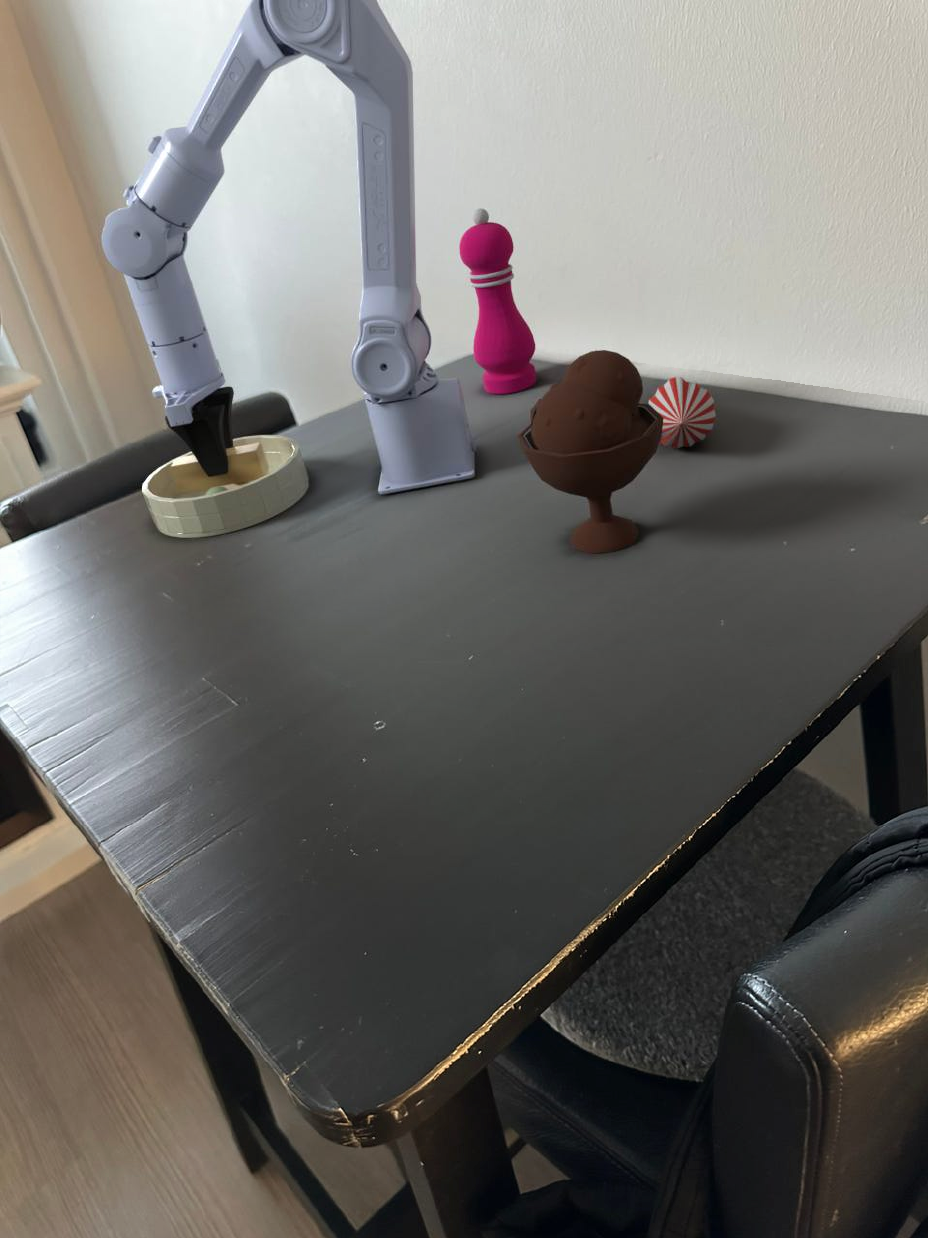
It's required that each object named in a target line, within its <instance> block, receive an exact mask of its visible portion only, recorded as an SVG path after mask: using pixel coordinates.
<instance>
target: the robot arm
mask: <svg viewBox="0 0 928 1238" xmlns="http://www.w3.org/2000/svg"><path fill="white" fill-rule="evenodd" d="M304 56H307V57H309V58H311V59H313V60H316V61H317V62H319V63H321V64H323V65H324V66H325V67H326V68H327V69H328V70H329V71H330V72H331V73H332V74H333V75H334V76H335V77H336V78H337V79H338V80H339V81H340V82H341V83H342V84H344V86H345V87H346V88H347V89H349V90H350V91H351V93H352V94H353V97H354V110H355V111H354V114H355V116H354V117H355V137H356V138H355V140H356V160H357V162H356V164H357V182H358V183H357V184H358V185H357V186H358V207H359V208H358V209H359V229H360V231H359V232H360V252H361V255H360V256H361V276H362V277H361V279H362V280H361V281H362V293H361V299H360V300H361V301H360V309H359V317H358V328H359V329H358V337H357V341H356V343H355V345H354V347H353V349H352V352H351V355H350V361H349V362H350V369H351V370H350V371H351V374H352V375H351V376H352V377H353V379H354V381H355V383H356V385H357V386H358V387H359V388H360V389H361V390H362V393H363V397H364V401H365V405H366V409H367V410H366V411H367V414H368V417H369V421H370V426H371V430H372V434H373V437H374V441H375V445H376V449H377V453H378V458H379V462H380V465H381V471H380V472H381V473H380V478H379V484H378V489H377V492H378V494H379V495H387V494H393V493H398V492H403V491H410V490H414V489H420V488H427V487H431V486H435V485H442V484H447V483H453V482H459V481H464V480H469V479H473V478H475V476H476V471H475V470H476V468H475V467H476V466H475V464H476V463H475V452H476V451H477V448H476V442H475V438H474V437H475V436H474V434H473V432H471V428H470V424H469V419H468V413H467V408H466V403H465V399H464V393H463V389H462V385H461V382H460V379H459V378H457V377H456V378H455V377H454V378H446V379H445V378H444V379H443V378H438V375H437V372H436V371H434V369H433V367H431V365H430V364H429V363H427V360H426V359H427V358H428V356H429V354H430V351H431V348H432V334H431V331H430V328H429V325H428V322H426V319H425V317H424V315H423V311H422V295H421V292H420V290H419V287H418V283H417V253H416V252H417V248H416V247H417V245H416V240H417V239H416V193H415V191H416V190H415V189H416V187H415V182H416V181H415V131H414V130H415V129H414V123H415V122H414V72H413V67H412V62H411V60H410V57H409V54H407V51H406V50H405V48H404V47H403V45H402V43H401V41H400V40H399V38H398V36H397V35H396V32H395V31H394V29H393V28H392V25H391V24H390V22H389V20H388V19H387V16H386V15H385V13H384V12H383V10H382V8H381V6H380V5H379V2H378V0H251V1H250V2H249V4H248V5H247V7H246V9H245V11H244V13H243V15H242V17H241V19H240V21H239V23H238V25H237V27H236V28H235V31H234V32H233V35H232V37H231V38H230V41H229V42H228V44H227V47H226V48H225V50H224V52H223V54H222V56H221V58H220V60H219V62H218V64H217V66H216V68H215V70H214V71H213V73H212V75H211V77H210V80H209V81H208V84H207V86H206V87H205V90H204V91H203V94H202V95H201V98H200V99H199V101H198V103H197V105H196V107H195V109H194V111H193V113H192V115H191V117H190V118H189V120H188V123H187V125H186V126H181V127H180V126H179V127H172V128H168V129H166V130H165V131H164V133H163V135H162V136H161V135H156V136H154V137H153V136H152V138H151V139H150V142H149V143H148V145H147V147H146V150H147V151H148V152H149V153H150V154H151V156H150V157H149V159H148V161H147V163H146V165H145V166H144V168H143V169H142V171H141V173H140V175H139V177H138V179H137V181H136V183H135V184H134V185H129V186H127V187H126V189H125V190H124V192H123V194H122V197H123V198H124V199H125V200H126V207H122V208H118V209H116V210H114V211H112V212H110V213H109V214H107V216H106V217H105V222H104V226H103V229H102V232H101V245H102V249H103V250H102V251H103V252H104V255H105V257H106V259H107V260H108V262H109V263H110V264H111V266H112V267H113V268H115V270H117V271H118V272H120V273H121V274H123V276H124V280H125V283H126V285H127V288H128V291H129V293H130V297H131V300H132V304H133V306H134V309H135V312H136V315H137V317H138V320H139V323H140V326H141V329H142V331H143V335H144V337H145V341H146V343H147V346H148V348H149V351H150V355H151V357H152V360H153V363H154V366H155V369H156V371H157V374H158V376H159V381H160V383H161V384H160V385H156V386H155V387H154V388H153V390H151V393H152V396H153V398H154V399H160V398H163V399H164V401H165V406H164V412H165V414H166V415H165V416H164V419H165V423H166V425H167V427H168V428H169V429H170V430H171V431H173V432H174V433H175V434H176V435H177V436H178V437H179V438H180V439H181V440H182V441H183V442H184V443H185V445H186V446H187V447H188V448H189V450H190V452H191V451H192V453H193V454H194V456H195V457H196V459H197V461H198V462H199V464H200V465H201V467H202V469H203V470H204V472H205V473H206V474H207V476H208V477H212V476H218V475H223V474H227V473H228V458H227V452H226V449H228V448H233V447H234V446H233V439H234V438H233V428H232V408H233V402H234V401H233V400H234V394H235V391H234V388H233V387H232V386H224V384H226V378H225V375H224V373H223V371H222V368H221V364H220V362H219V359H218V358H217V356H216V353H215V350H214V348H213V344H212V341H211V337H210V335H209V331H208V328H207V326H206V322H205V319H204V315H203V313H202V309H201V306H200V304H199V300H198V296H197V294H196V291H195V287H194V284H193V281H192V279H191V276H190V273H189V270H188V267H187V263H186V261H185V258H184V257H185V252H186V249H187V246H188V241H189V239H188V237H189V236H188V232H189V231H190V230H191V229H192V227H193V226H194V224H195V222H196V221H197V219H198V217H200V214H201V213H202V211H203V209H204V208H205V206H206V204H207V203H208V201H209V199H210V198H211V196H212V194H213V193H214V192H215V190H216V188H217V186H218V184H219V183H220V181H221V180H222V178H223V177H224V175H225V164H224V159H223V154H222V148H223V146H224V145H225V143H226V142H227V140H228V139H229V138H230V136H231V134H232V133H233V131H234V130H235V128H236V127H237V125H238V124H239V122H240V120H241V119H242V117H243V116H244V114H245V113H246V111H247V110H248V108H249V107H250V105H251V104H252V102H253V101H254V99H255V98H256V96H257V95H258V94H259V91H260V90H261V89H262V87H263V85H264V84H265V82H266V81H267V80H268V77H269V76H270V75H271V74H272V73H273V72H274V71H275V70H278V69H280V68H281V67H283V66H286V65H289V63H291V62H294V61H296V60H298V59H299V58H302V57H304ZM223 386H224V387H223Z"/></svg>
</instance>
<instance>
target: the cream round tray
mask: <svg viewBox="0 0 928 1238" xmlns="http://www.w3.org/2000/svg"><path fill="white" fill-rule="evenodd" d="M259 442H260V443H261V446H262V449H263V452H264V455H265V458H266V462H267V465H268V468H269V470H268V472H267V474H266V475H265V476H263V477H261V478H259V479H257V480H251V481H246V482H241V483H237V484H230V485H224V486H221V487H224V488H226V489H228V490H226V491H222V492H219V493H215V494H211V495H206V493H207V492H208V491H209V490H210V489H211V488H208V489H202V490H197V491H192V492H186V493H181V494H180V492H179V489H178V486H177V483H176V481H175V478H174V475H173V472H172V470H171V465H172V464H173V462H174V461H175V459H176V458H180V457H185V456H190V455H194V454H193V453H192V451H191V450H190V451H189V452H187V453H184V454H182V455H180V456H178V457H176V458H174V459H171V460H170V461H168V462H166V463H164V464H162V465H161V466H159V467H158V468H156V470H153V472H152V473H151V474H149V475H148V476H147V477H146V479H145V481H144V482H143V483H142V488H141V490H142V491H141V493H142V496H143V497H144V500H145V503H146V505H147V508H148V510H149V513H150V516H151V519H152V521H153V523H154V524H155V527H156V529H157V530H158V531H159V532H160V533H162V534H163V535H166V536H168V537H173V538H178V539H179V538H182V539H194V538H195V539H197V538H198V539H199V538H207V537H212V536H218V535H224V534H228V533H233V532H236V531H239V530H242V529H246V528H249V527H252V526H255V525H257V524H260V523H262V522H265V521H267V520H269V519H271V518H273V517H275V516H277V515H279V514H281V513H283V512H284V511H286V510H288V509H289V508H291V507H292V506H294V505H295V504H296V503H298V502H299V501H300V500H301V499H302V498H303V497H304V496H305V494H306V493H307V491H308V489H309V487H310V481H309V480H310V479H309V476H308V471H307V469H306V466H305V462H304V459H303V455H302V451H301V449H300V445H299V443H298V441H296V440H295V439H292V438H291V437H289V436H284V435H279V434H257V435H249V436H248V435H247V436H242V437H236V438H233V446H234V447H238V446H243V445H249V444H254V443H259Z"/></svg>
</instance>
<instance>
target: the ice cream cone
mask: <svg viewBox="0 0 928 1238" xmlns="http://www.w3.org/2000/svg"><path fill="white" fill-rule="evenodd" d="M648 404H649V405H651V406H652V407H653V408H654V409H655V410H656V411H657V412H658V413H659V414H660V415H661V416H662V417H663V428H662V437H661V439H660V442H661V444H662V445H663V446H664V447H665V446H666V447H671V448H674V449H680V448H682V447H683V448H684V447H686V448H690V447H692V446H693V445H695V444H696V443H697V442H701V441H704V440H705V438H706V436H707V435H708V434H710V433H711V431H712V430H713V428H714V424H715V420H716V417H717V415H716V411H715V399H714V398H713V397H712V395H711V393H710V391H709V390H708V389H705V388H703V387H701V386H700V385H699V384H698V383H696V382H690V381H686V380H685V379H684V378H683V377H681V376H675V377H670V378H669V379H668V380H667V381H666V383H664V384H663V385H660V386H659V387H657V390H656V392H655V393H654V394H653V396H652V397H650V398H649V399H648Z"/></svg>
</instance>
